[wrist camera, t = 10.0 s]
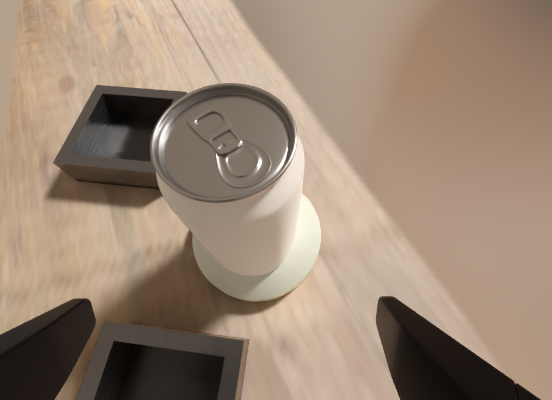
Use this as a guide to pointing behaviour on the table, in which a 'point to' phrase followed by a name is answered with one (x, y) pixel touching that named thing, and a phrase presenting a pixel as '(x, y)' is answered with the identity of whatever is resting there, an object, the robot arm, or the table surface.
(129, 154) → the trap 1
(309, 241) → the pad
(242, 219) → the can
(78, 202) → the table surface
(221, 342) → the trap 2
